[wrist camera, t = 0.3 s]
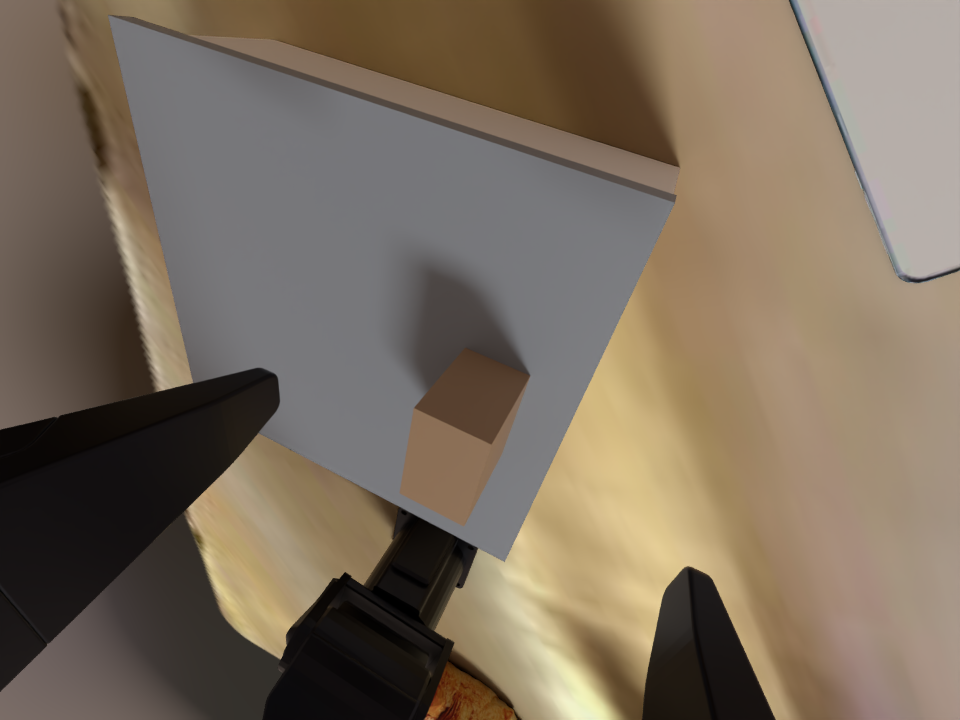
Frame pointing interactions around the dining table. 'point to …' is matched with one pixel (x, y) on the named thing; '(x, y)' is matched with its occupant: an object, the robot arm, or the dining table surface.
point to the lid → (384, 273)
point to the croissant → (466, 699)
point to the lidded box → (460, 111)
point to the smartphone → (897, 117)
